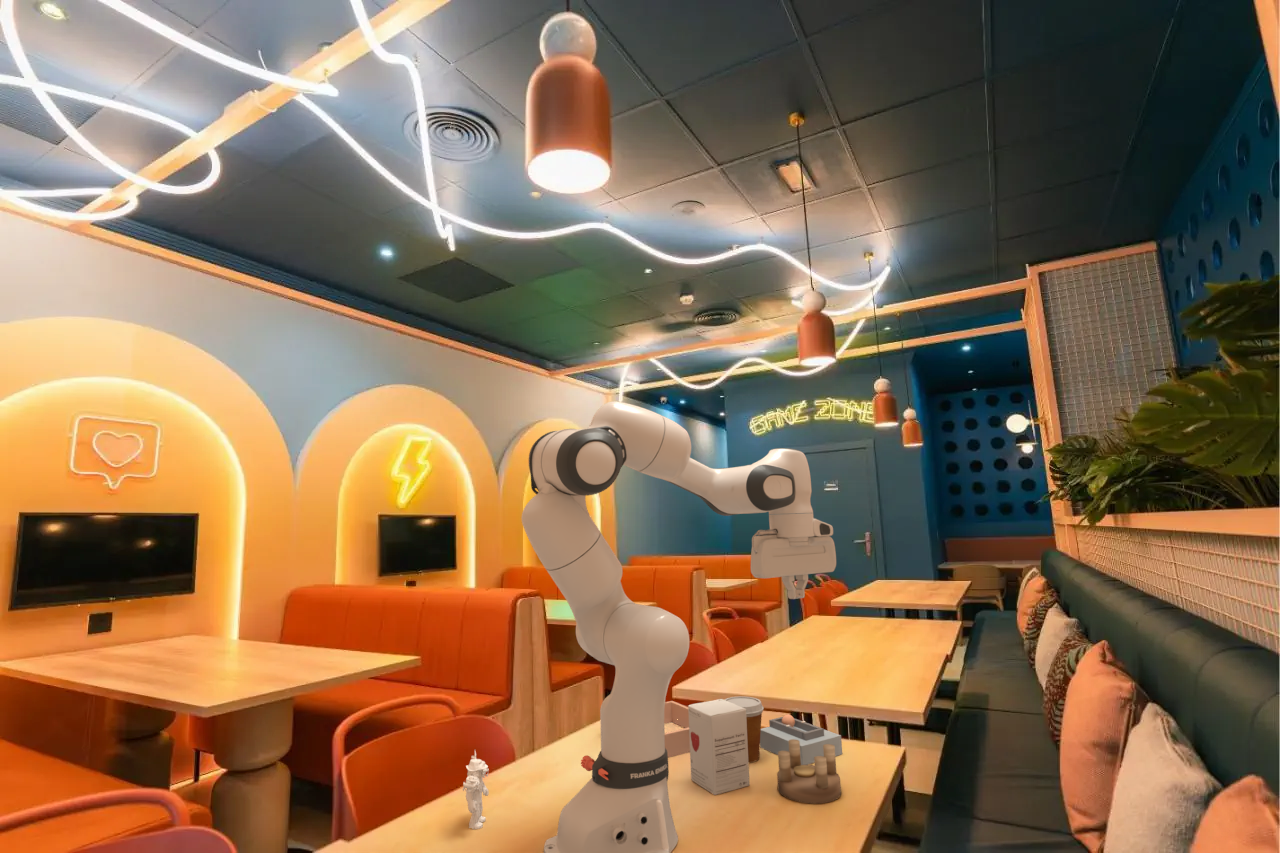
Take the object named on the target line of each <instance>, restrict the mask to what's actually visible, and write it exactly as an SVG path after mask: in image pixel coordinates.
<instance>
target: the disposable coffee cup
mask: <svg viewBox="0 0 1280 853" xmlns="http://www.w3.org/2000/svg"><path fill="white" fill-rule="evenodd" d="M724 700H726V701H728V702H731V703H734V704H736V705H738V706H740V707H742V708H745V709H746V720H747V741H748V762H749V763H753V762H756V761H759V759H760V750H761V749H760V748H761V747H760V733H761V729H762V717H763V716H762V714H763V711H764V706H763V704H762V700H760V699H759V698H756V697H751V696H744V695H743V696H741V695H740V696H731V697H727V698H725V699H724Z"/></svg>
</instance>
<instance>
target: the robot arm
mask: <svg viewBox="0 0 1280 853" xmlns="http://www.w3.org/2000/svg"><path fill="white" fill-rule="evenodd" d="M691 454H692V441H691V437H690V435H689V433H688V431H687V430H686V429H685V428H684V427H683V426H681V425H680V424H679V423H677V422H676V421H674V420H672V419H670V418H669V417H666V416H664V415H662V414H660V413H657V412H655V411H652V410H651V409H647V408H644V407H641V406H638V405H635V404H632V403H631V404H630V403H627V402H623V401H616V400H615V401H608V402H605V403H604V404H603V405H601V406H600V407H599V408H598V409H597V410H596V411H595V413H594V415H593V417H592V418H591V421H590V424H589V425H588V427H587V428H578V429H577V428H563V429H560V430H552V431H549V432H546V433H545V434H543V435H541V436H540V437H539V438H538V439H537V440H536V441H535V442H534V443H533V445H532V446H531V448H530V449H529V454H528V469H529V473H530V486H531V490H532V492H533V493H535V495H534V496H533V497H532V498H531V499H530V500H529V501H528V502H527V503H526V505H525V506H524V508H523V511H522V513H521V523H522V526H523V529H524V532H525V534H526V536H527V538H528V541H529V542H530V545H531V547H532V548H533V552H535V554H536V555H537V557H538V559H539V561H540V563H541V564H542V566H543V567H544V569H545V571H547V573H548V575H549V576H550V578H551V580H552V581H553V582H554V584H555V585H556V587H557V589H558V590H559V591H560V592H561V594H562V595H563V597H564V599H565V600H566V602H567V604H568V605H569V608H570V610H571V612H572V615H573V617H574V620H575V623H576V624H575V636H576V640H577V643H578V645H579V646H580V648H582V650H583V651H584V652H586V653H587V654H588V655H589V656H590V657H593V659H595V660H597V661H598V662H602V663H605V664H609V665H610V666H611V665H612V666H614V668H615V669H614V670H615V672H614V673H615V676H614V680H613V685H612V689H611V691H610V694H609V695H607V696H606V697H605V698H604V699H603V701H602V702H601V704H600V710H599V711H600V712H599V713H600V718H599V719H600V749H601V750H600V751H599V753H598V755H597V758H596V760H595V759H594V758H592V757H591V756H589V755H584V756H583V757H582V759H581V760H580V765H581V767H582V768H583V769H584V770H586V771H587V772H591V778H590V779H589V780H588V781H587V782H586V783H585V785H584V786H582V788H581V789H580V790H579V791H578V792H577V793H576V794H575V795H574V796H573V797H572V799H571V800H569V801H568V802H567V803H566V804H565V805H564V806H563V808H562V810H561V812H560V815H559V819H558V824H557V825H558V826H557V833H556V835H555V836H552V837H549V838H548V839H546V840H545V842H544V846H543V853H672V851H673V850H674V849H675V848H676V846H677V844H678V841H679V834H678V832H677V830H676V826H675V823H674V818H673V813H672V809H671V802H670V798H669V797H670V796H669V788H668V780H669V757H668V753H667V749H666V748H665V733H666V732H665V724H664V707H665V702H666V698H667V697H666V696H667V693H668V688H669V685H670V683H671V679H672V677H673V675H674V674H675V672H676V671H677V670H679V668H680V667H682V665H684V663H685V661H686V659H687V657H688V653H689V649H690V634H689V630H688V628H687V625H686V624H685V622H684V621H683V620H682V619H681V618H680V617H678V616H677V615H675V614H673V613H672V612H669V611H668V610H665V609H664V608H661V607H658V606H652V605H645V604H638V603H635V602H634V601H632V600H631V599H630V598H629V597H628V596H627V594H626V593H625V591H624V588H623V584H622V582H621V580H622V579H623V578H622V577H623V566H622V563H621V562H620V560H619V559H618V557H617V556H616V554H615V553H614V551H613V549H612V547H611V546H610V544H609V543H608V542H607V540H606V539H605V537H604V535H603V534H602V532H601V531H600V529H599V528H598V526H597V525H596V523H595V522H594V520H593V519H592V518H591V516H590V513H589V512H588V507H587V502H586V496H594V495H597V494H599V493H602V492H604V491H606V490H607V489H608V488H610V487H611V486H612V484H614V482H615V481H616V479H617V478H618V476H619V473H620V472H621V468H622V467H623V466H625V467H627V468H630V469H632V470H634V471H636V472H639V473H640V474H644V475H647V476H650V477H653V478H655V479H656V478H657V479H661V480H664V481H666V482H668V483H669V484H672V485H674V486H676V487H678V488H680V489H682V490H685V491H687V492H689V493H691V494H693V495H695V496H697V497H698V498H699V499H700V500H702V501H703V502H704V503H705V504H706V506H708V508H710V509H711V511H713V512H715V513H716V514H717V515H721V516H722V517H723V516H725V517H726V516H727V517H728V516H729V517H730V516H733V515H740V514H741V515H742V514H763V513H768V522H769V524H768V525H769V529H759V530H757V531H756V532H755V533H754V535H752V537H751V550H750V551H751V553H750V554H751V555H750V573H751V575H752V576H753V577H754V578H757V579H771V578H773V579H774V578H781V582H782V583H783V585H784V587H785V589H786V590H787V597H788V599H790V600H797V599H804V598H805V596H806V595H805V594H806V593H805V592H806V591H805V589H806V587H807V584H808V581H809V575H811V574H813V575H814V574H821V573H822V574H823V573H833V572H834V571H835V570H836V567H837V553H836V546H835V541H834V539H833V538H832V537H831V536H833V535H834V528H833V525H831V524H829V523H827V522H824V521H822V520H820V519H817V518H815V517H814V510H813V507H812V505H811V504H812V503H811V497H812V492H813V491H812V481H811V480H812V479H811V472H810V466H809V463H808V458H807V457H806V455H805V453H804V452H802V451H801V450H798V449H796V448H791V447H790V448H789V447H788V448H786V447H777V448H771V449H770V450H769V451H768V453H767V454H766V455H765V456H764V457H762V458H761V459H759V460H757V461H756V462H753V463H752V464H747V465H741V466H735V467H719V468H712V467H709V466H707V465H705V464H704V463H701V462H699V461H697V460H696V459H693V458H692V457H691ZM795 580H797V583H796V585H795V584H794V583H793V582H795Z"/></svg>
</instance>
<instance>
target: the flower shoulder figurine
mask: <svg viewBox="0 0 1280 853" xmlns="http://www.w3.org/2000/svg"><path fill="white" fill-rule="evenodd" d="M465 767H466V769H467V773H466V775H467V777H466V779H465V781H463V784H462V786H463V787H462V791H463V792H466V793H465V798H466V799H465V800H466V802H467V808H468V811H469V813H471V817H470V820H469V823H468V829H469V828H472V829H471V830H480V829H482V828H483V826H484V824H483V823H484V822H486V820H487V819H486V816H482V815H483V808H484V807H483V796H484V797H488V796H489V788H487V786H486V785H485V782H484V779H485V778H486V777H487V778H488V776H489V773H488V772H489V771H490V770H489V768H488V767H489V766H488V765H487V764H486V762H485V760H482V759H480V758H477V752H476V750H474V755H471V759H470V761H469V764H468V765H465ZM486 773H487V774H486Z"/></svg>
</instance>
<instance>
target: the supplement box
mask: <svg viewBox="0 0 1280 853" xmlns="http://www.w3.org/2000/svg"><path fill="white" fill-rule="evenodd" d="M687 707H688V713H689V737H690V752H689V755H690V756H689V757H690V758H689V759H690V778H691V779H690V780H691V781H692V782H694V783H695V784H697V785H699V786H700V787H701V788H703V789H704V790H706V791H708V792H709V793H711V794H712V795H714V796H716V795H720V794H723V793H727V792H730V791H735V790H737V789H738V790H739V789H742V788H745V787H749V786H750V785H751V784H750V770H749V769H750V768H749V767H750V766H749V764H750V762H748V741H747V720H746V709H745V708H742V707H740V706H738V705H736V704H734V703H731V702H728V701H726V700H725V699H723V698H717V699H714V700H709V701H703V702H697V703H691V704H689V705H687Z"/></svg>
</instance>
